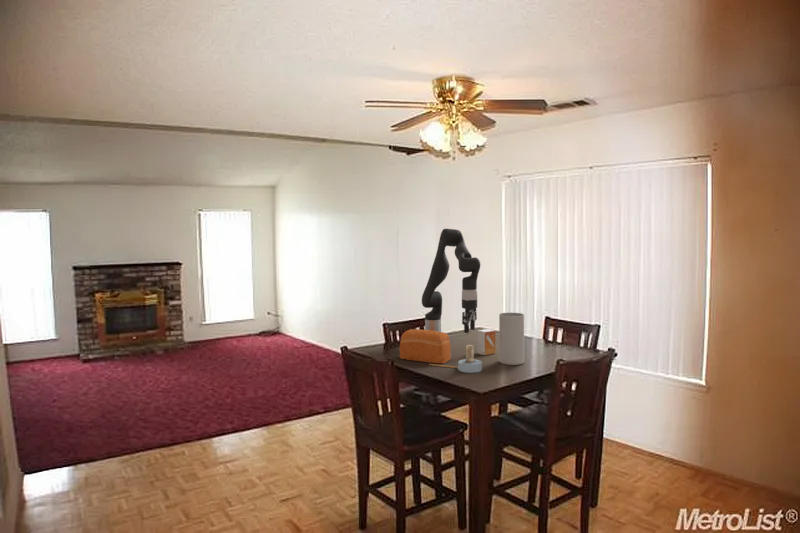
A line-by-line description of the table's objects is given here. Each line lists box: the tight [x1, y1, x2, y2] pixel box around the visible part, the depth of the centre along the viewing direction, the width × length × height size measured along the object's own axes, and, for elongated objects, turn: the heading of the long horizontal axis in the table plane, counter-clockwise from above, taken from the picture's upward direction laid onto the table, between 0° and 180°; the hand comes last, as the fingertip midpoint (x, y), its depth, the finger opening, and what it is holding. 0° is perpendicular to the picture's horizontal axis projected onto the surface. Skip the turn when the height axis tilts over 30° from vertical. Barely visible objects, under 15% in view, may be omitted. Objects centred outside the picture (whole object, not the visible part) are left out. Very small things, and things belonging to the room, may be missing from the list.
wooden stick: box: [428, 363, 458, 369], centre depth 276 cm, size 17×1×1 cm, turn 63°
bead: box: [457, 358, 483, 374], centre depth 270 cm, size 11×11×4 cm
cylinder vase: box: [498, 312, 525, 366], centre depth 282 cm, size 12×12×25 cm
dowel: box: [465, 344, 475, 363], centre depth 269 cm, size 4×4×12 cm
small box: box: [476, 328, 496, 356], centre depth 303 cm, size 8×6×13 cm
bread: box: [399, 328, 452, 364], centre depth 292 cm, size 14×26×16 cm, turn 60°
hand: (469, 331), depth 268 cm, fingers open, 8 cm apart
